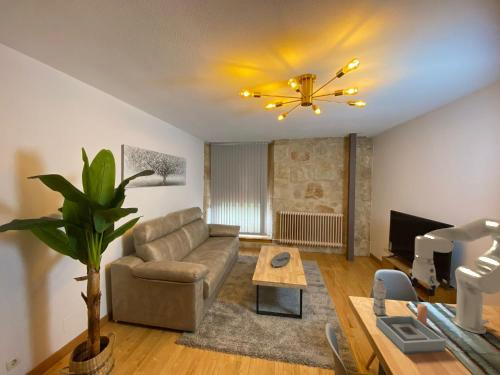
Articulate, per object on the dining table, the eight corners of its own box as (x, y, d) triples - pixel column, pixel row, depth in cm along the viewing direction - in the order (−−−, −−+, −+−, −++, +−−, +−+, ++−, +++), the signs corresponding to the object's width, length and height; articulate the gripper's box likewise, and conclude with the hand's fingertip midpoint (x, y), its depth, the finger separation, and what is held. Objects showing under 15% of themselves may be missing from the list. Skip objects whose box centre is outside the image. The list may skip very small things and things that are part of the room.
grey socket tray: (411, 324, 113) (411, 315, 113) (445, 351, 95) (445, 340, 95) (376, 326, 111) (376, 316, 111) (403, 353, 93) (404, 342, 93)
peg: (421, 321, 115) (422, 303, 115) (428, 326, 111) (429, 307, 111) (415, 321, 115) (415, 303, 115) (421, 326, 111) (422, 308, 111)
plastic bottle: (388, 318, 118) (388, 283, 117) (374, 316, 119) (375, 281, 119) (383, 311, 124) (384, 277, 124) (370, 309, 126) (371, 276, 125)
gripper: (446, 265, 104) (445, 299, 104) (416, 254, 121) (415, 283, 122) (432, 266, 103) (431, 300, 104) (403, 254, 121) (403, 283, 121)
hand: (422, 291), depth 113 cm, fingers open, 9 cm apart
